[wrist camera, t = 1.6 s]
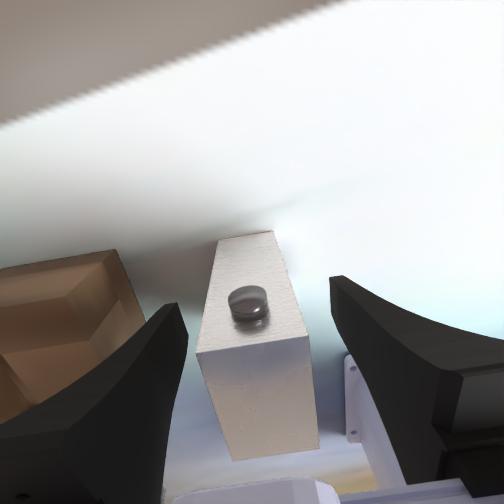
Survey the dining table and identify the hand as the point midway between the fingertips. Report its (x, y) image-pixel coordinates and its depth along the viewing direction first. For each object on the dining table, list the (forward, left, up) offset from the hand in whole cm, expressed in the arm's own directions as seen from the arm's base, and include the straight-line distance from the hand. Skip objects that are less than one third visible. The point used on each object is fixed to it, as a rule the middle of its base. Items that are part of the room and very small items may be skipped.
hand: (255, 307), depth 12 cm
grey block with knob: (0, 0, -3) cm, 3 cm away
